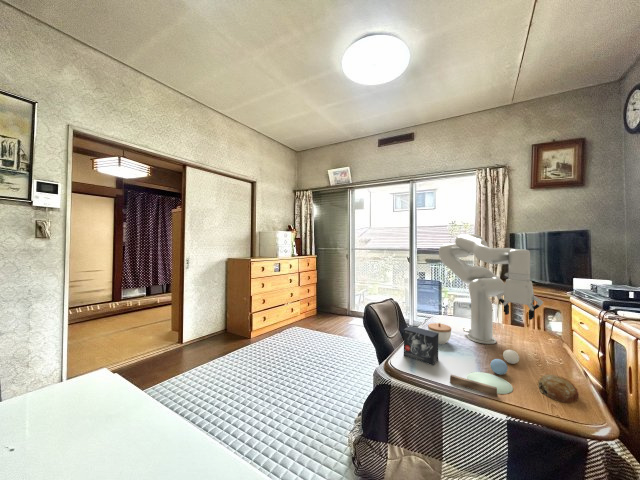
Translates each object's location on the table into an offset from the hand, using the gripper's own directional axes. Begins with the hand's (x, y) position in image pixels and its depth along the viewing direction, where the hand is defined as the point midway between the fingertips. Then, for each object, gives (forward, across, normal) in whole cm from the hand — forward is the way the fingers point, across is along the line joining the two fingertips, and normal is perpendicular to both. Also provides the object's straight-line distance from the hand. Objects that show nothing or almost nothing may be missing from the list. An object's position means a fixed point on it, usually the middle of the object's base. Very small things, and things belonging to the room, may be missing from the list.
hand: (518, 316), depth 115 cm
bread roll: (+18, +17, -23) cm, 34 cm away
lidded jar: (+18, -30, -11) cm, 37 cm away
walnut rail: (+18, -2, -42) cm, 46 cm away
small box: (+18, -26, -35) cm, 47 cm away
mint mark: (+18, 0, -34) cm, 38 cm away
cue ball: (+15, 0, -10) cm, 18 cm away
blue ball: (+15, 0, -24) cm, 28 cm away
